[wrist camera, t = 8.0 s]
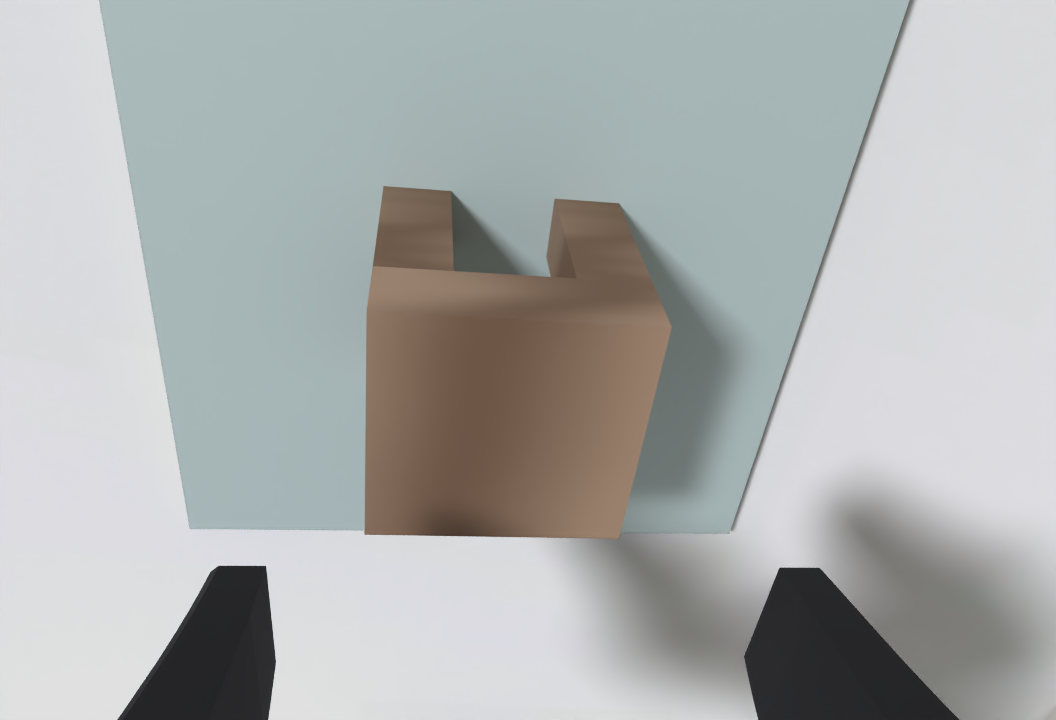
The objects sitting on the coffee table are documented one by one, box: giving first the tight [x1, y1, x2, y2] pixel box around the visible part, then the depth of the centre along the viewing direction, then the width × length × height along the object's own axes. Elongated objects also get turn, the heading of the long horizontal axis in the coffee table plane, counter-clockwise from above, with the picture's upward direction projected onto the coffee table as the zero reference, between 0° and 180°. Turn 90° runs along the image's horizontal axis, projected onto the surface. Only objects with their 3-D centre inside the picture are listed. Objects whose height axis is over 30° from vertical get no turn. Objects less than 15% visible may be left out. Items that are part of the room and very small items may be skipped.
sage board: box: [99, 0, 910, 534], centre depth 19 cm, size 15×15×1 cm
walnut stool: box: [365, 186, 672, 539], centre depth 17 cm, size 5×5×5 cm
